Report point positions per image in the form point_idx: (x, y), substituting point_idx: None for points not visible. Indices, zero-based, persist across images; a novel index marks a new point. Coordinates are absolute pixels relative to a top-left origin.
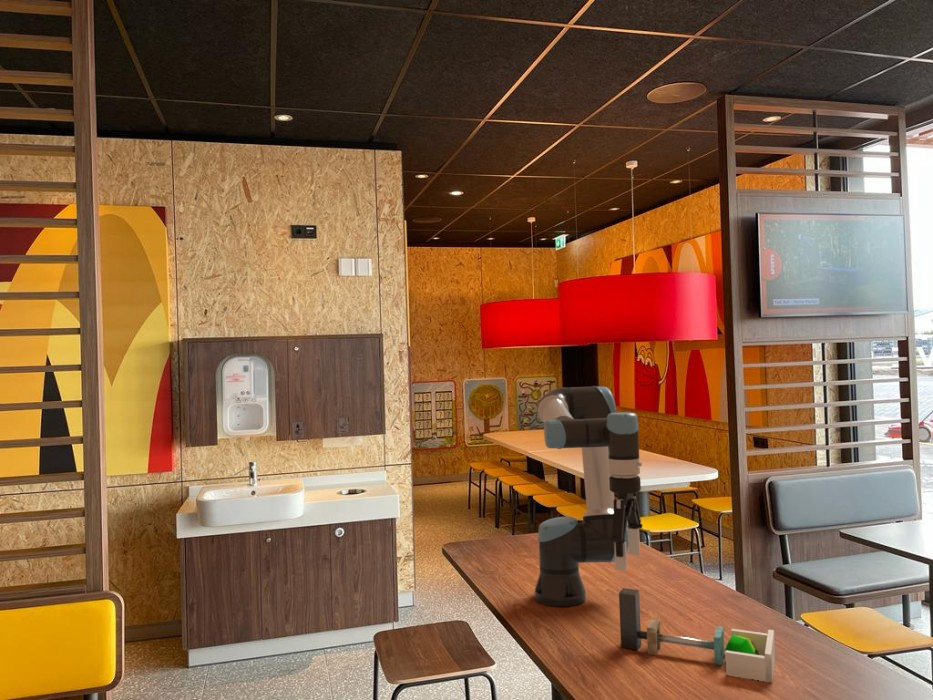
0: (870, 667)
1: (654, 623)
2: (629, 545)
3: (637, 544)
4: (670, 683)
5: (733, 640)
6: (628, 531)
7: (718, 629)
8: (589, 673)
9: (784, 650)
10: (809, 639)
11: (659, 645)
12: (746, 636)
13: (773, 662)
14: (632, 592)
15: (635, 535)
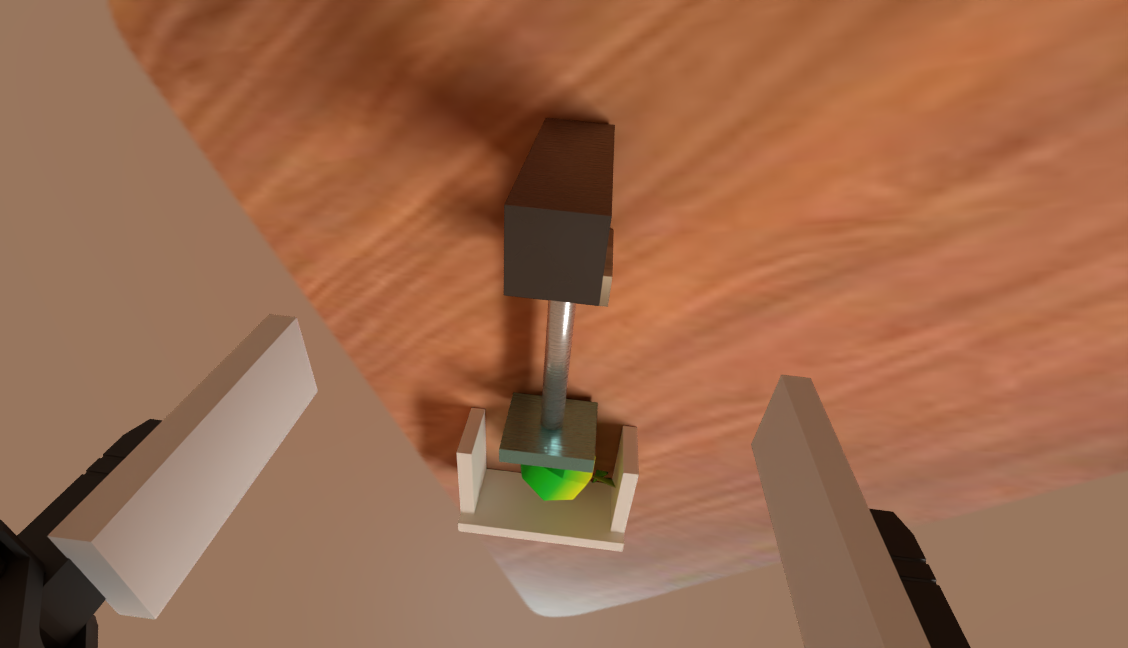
0: (614, 594)
1: None
2: (801, 448)
3: (778, 518)
4: (356, 294)
5: (541, 473)
6: (867, 606)
7: (567, 461)
8: (267, 28)
9: (662, 509)
10: (740, 551)
11: None
12: (617, 489)
13: None
14: (545, 277)
15: (810, 605)
